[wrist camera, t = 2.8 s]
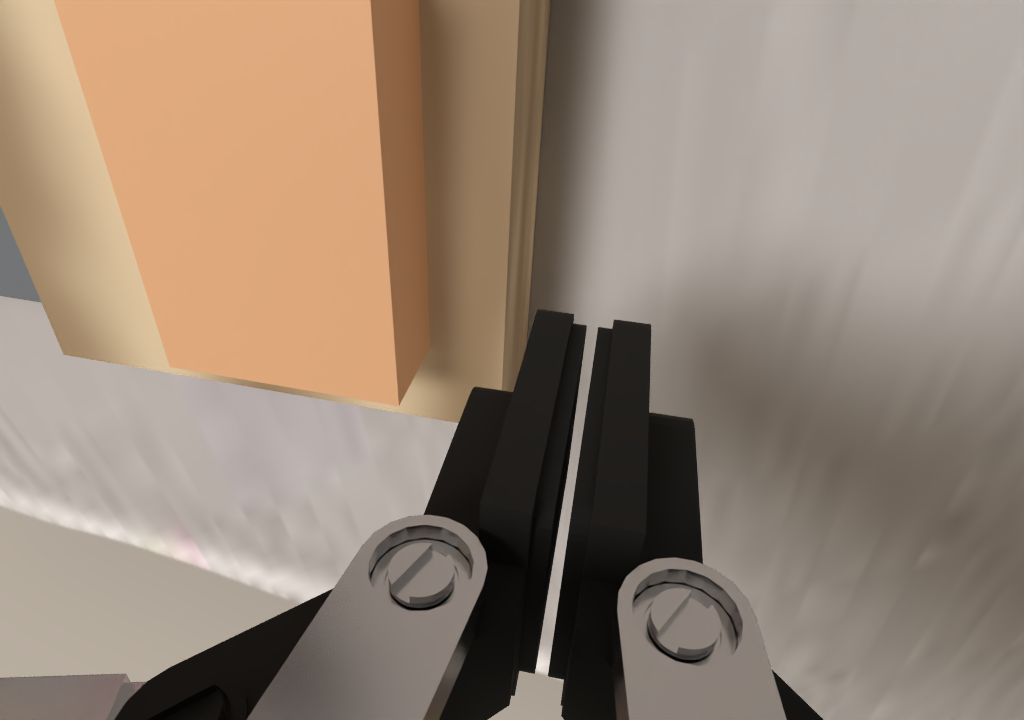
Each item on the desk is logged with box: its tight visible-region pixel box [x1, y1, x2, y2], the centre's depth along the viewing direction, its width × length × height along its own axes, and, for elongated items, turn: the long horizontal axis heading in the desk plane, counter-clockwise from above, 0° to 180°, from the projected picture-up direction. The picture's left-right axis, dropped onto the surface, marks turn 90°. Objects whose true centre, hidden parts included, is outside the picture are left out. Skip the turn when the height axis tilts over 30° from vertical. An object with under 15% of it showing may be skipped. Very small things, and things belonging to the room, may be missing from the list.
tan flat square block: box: [0, 0, 550, 423], centre depth 18 cm, size 14×14×4 cm
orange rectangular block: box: [54, 0, 430, 406], centre depth 15 cm, size 6×9×2 cm, turn 177°
